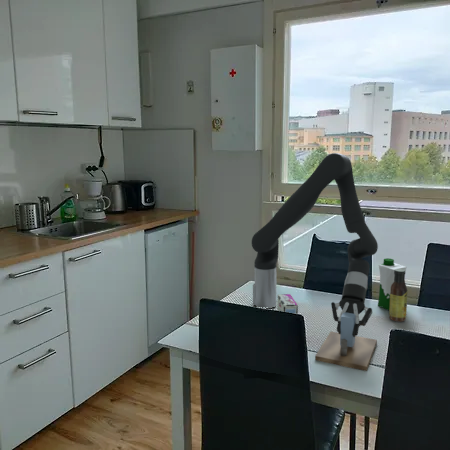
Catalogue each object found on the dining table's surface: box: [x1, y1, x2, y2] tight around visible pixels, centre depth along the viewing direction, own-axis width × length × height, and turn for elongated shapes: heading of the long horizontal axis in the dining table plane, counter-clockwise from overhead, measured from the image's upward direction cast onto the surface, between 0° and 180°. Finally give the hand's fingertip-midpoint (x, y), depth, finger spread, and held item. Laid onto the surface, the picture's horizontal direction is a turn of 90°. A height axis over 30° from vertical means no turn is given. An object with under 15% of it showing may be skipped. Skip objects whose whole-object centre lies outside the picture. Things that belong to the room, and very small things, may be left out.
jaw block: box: [340, 312, 355, 347], centre depth 145 cm, size 4×4×10 cm
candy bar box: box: [276, 293, 299, 314], centre depth 152 cm, size 11×5×16 cm, turn 5°
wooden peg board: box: [314, 331, 378, 372], centre depth 146 cm, size 16×20×6 cm
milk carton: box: [377, 258, 407, 311], centre depth 182 cm, size 9×9×20 cm
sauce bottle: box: [388, 269, 409, 323], centre depth 170 cm, size 7×6×20 cm
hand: (346, 334), depth 144 cm, fingers closed on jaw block, 4 cm apart
